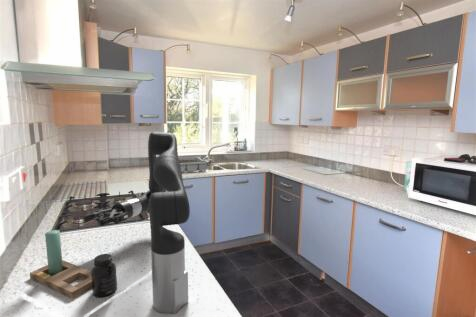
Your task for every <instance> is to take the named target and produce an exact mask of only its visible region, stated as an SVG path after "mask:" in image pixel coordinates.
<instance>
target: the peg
mask: <svg viewBox="0 0 476 317" xmlns="http://www.w3.org/2000/svg"><path fill="white" fill-rule="evenodd" d="M44 236H45V246H46V257H47V258H46V259H47V265H48V271H49V275H50V276H53V275H55V274H58V273H60V272H62V271H63V264H62V260H63V255H62V254H63V252H62V241H61V232H60V230H58V229H54V230H50V231H46V232H45V233H44Z"/></svg>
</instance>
